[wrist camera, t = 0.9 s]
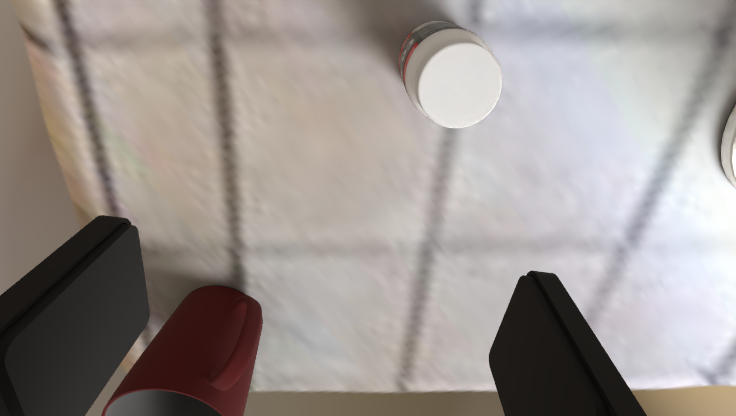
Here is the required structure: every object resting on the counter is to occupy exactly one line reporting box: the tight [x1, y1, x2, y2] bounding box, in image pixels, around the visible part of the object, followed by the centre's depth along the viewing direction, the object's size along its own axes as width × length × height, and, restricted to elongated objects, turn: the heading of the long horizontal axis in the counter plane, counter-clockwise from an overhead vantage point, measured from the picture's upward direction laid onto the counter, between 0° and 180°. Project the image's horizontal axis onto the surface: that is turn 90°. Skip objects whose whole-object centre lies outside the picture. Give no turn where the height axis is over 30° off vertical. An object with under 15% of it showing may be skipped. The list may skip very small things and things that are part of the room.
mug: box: [102, 286, 263, 416], centre depth 32 cm, size 12×9×11 cm
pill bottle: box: [399, 21, 502, 128], centre depth 23 cm, size 5×5×8 cm
